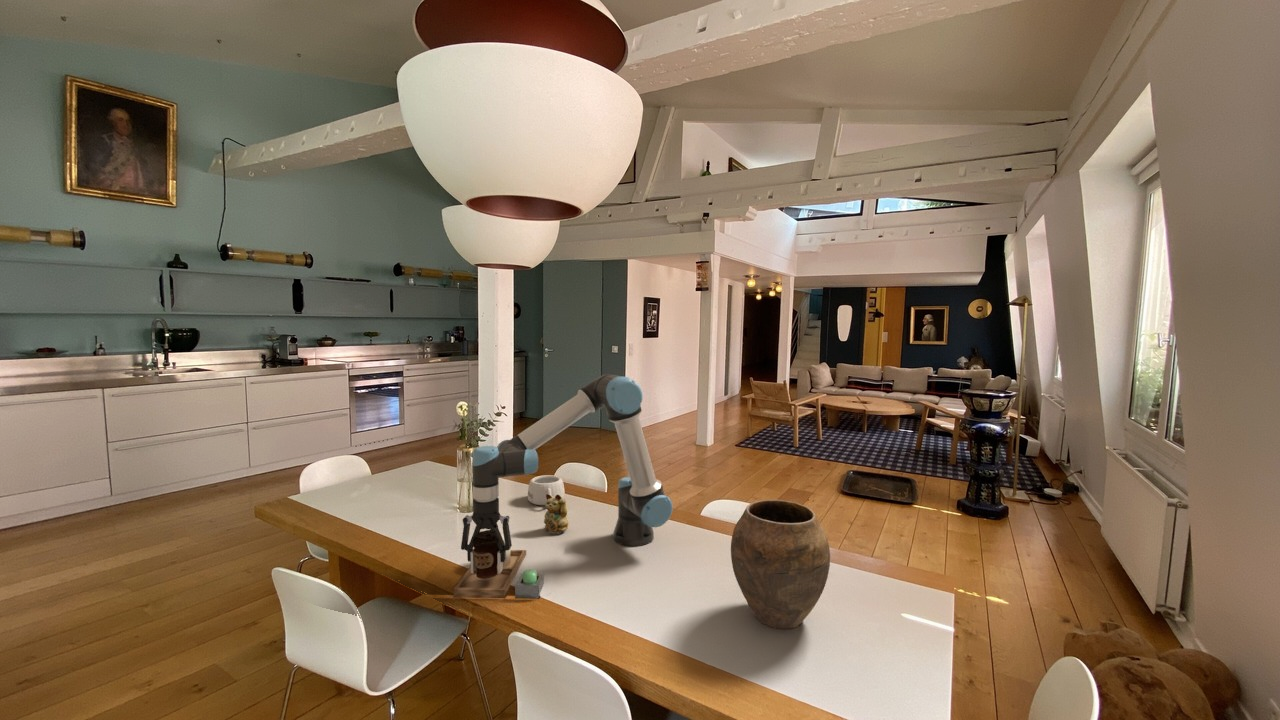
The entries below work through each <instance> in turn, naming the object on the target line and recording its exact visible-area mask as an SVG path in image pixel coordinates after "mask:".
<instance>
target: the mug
mask: <svg viewBox="0 0 1280 720" xmlns="http://www.w3.org/2000/svg"><path fill="white" fill-rule="evenodd" d="M565 491H566V490H565V486H564V481H563V479H562V477H559V475H558V476H557V475H552V474H551V475H550V474H548V475H547V474H546V475H545V474H544V475H539V476H535V477H533V478H532V479H530V480H529V483H528V488H527V499H528V501H529V502H530V503H531V504H532V505H535V506H543V507H544V506H545V505H546V501H547V498H546V494H550V495H552V496H553V497H555V496H556V495H558V494H560V495H561V497H562V499H565V495H566V494H565ZM545 507H546V506H545Z"/></svg>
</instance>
